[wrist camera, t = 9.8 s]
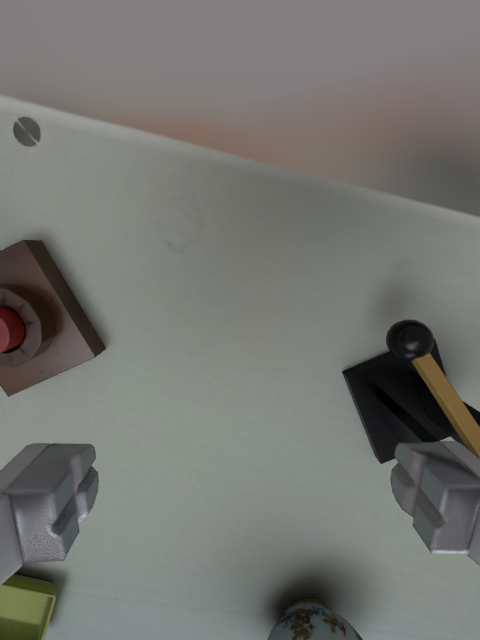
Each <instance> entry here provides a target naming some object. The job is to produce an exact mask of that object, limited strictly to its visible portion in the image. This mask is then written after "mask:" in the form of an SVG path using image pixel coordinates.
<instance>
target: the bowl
mask: <svg viewBox="0 0 480 640" xmlns="http://www.w3.org/2000/svg"><path fill="white" fill-rule="evenodd" d="M268 640H362V638H361V637H360V635H359V634H358V633H357V632H356V630H355V629H354V628H353V627H352V626H351V625H350V624H349V623H348V622H347V621H346V620H345V619H343V618H342V617H341V616H339V615H338V614H336V613H334V612H332V611H330V610H328V608H327V606H326V605H325V604H324V603H323V602H321V601H319V600H315V599H302V600H297V601H295V602H293V603H291V604H290V605H289V606H288V607H287V608H286V609H285V611H284V613H283V615H282V618H281V619H280V620H279V622H278V623H277V624H276V625H275V626H274V628H273V630H272V631H271V633H270V635H269V637H268Z"/></svg>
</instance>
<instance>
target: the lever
mask: <svg viewBox="0 0 480 640" xmlns="http://www.w3.org/2000/svg"><path fill="white" fill-rule="evenodd" d="M386 344H387V347H388V349H389V350H390V352H391V353H392V354H393V355H394V356H396V357H398V358H399V359H402V360H406V361H412V363H413V365H414V366H415V368H416V369H417V371H418V372H419V374H420V375H421V377H422V379H423V380H424V382H425V383H426V385H427V386H428V388H429V390H430V391H431V393H432V394H433V396H434V397H435V399H436V400H437V402H438V404H439V405H440V407H441V408H442V410H443V411H444V413H445V414H446V416H447V418H448V419H449V421H450V422H451V424H452V425H453V427H454V429H455V430H456V432H457V433H458V435H459V436H460V438H461V439H462V441H463V443H464V444H465V446H466V447H467V449H468V450H469V451H470V452H472V453H473V454H474V455H475V456H477V457H478V458H479V459H480V427H479V425H478V424H477V423H476V421H475V420H474V418H473V417H472V415H471V414H470V412H469V411H468V409H467V408H466V406H465V405H464V403H463V402H462V400H461V399H460V397H459V396H458V394H457V393H456V391H455V390H454V388H453V387H452V385H451V384H450V383H449V381H448V380H447V378H446V377H445V375H444V374H443V372H442V371H441V369H440V368H439V366H438V365H437V363H436V362H435V360H434V359H433V357H432V356H431V354H430V352H431V350H432V348H433V345H434V337H433V334H432V332H431V330H430V329H429V328H428V327H427V326H426V325H425V324H423V323H421V322H419V321H416V320H402V321H399V322H397V323H395V324H394V325H393V326H391V328H390V329H389V330H388V332H387V335H386Z"/></svg>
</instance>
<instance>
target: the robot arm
mask: <svg viewBox="0 0 480 640" xmlns="http://www.w3.org/2000/svg"><path fill="white" fill-rule="evenodd" d="M394 456H395V458H396V459H397V461H398V463H397V465H396V466H395V467H394V468H393V469H392V472H391V480H390V481H391V486H392V492H393V494H394V496H395V499H396V501H397V502H398V504H399V506H400V507H401V509H402V510H404V511H405V512H406V513H408V514H409V515H411V516H412V517H413V527H414V528H415V530H416V531H417V533H418V534H419V536H420V537H421V539H422V540H423V542H424V543H425V545H426V546H427V548H428V549H429V551H430V552H431V553H468V556H469V557H470V558H471V559H472V560H474V561H475V562H476V563H477V564H479V565H480V459H479V458H478V457H477V456H475V455H474V454H473V453H472V452H470V451H469V450H468V449H467V448H466V447H464V446H463V445H462V444H461V443H458V442H456V441H436V442H408V443H398V445H397V446H396V449H395V454H394ZM95 459H96V454H95V448H94V446H93V445H91V444H58V443H53V444H49V443H33V444H30V445H27V446H26V447H25V448H24V449H23V450H22V451H21V452H20V453H18V454H17V455H16V456H15V457H14V458H13V459H12V460H11V461H10V462H9V463H8V464H7V465H6V466H5V467H4V468H3V469H2V470H1V471H0V585H2V584H3V583H4V582H5V581H6V580H7V579H8V578H9V577H11V576H12V575H13V574H14V573H15V572H16V571H17V570H18V569H20V568H21V567H22V566H23V563H31V562H50V561H64V559H65V557H66V555H67V553H68V552H69V550H70V548H71V546H72V544H73V542H74V540H75V539H76V537H77V535H78V533H79V525H78V522H79V521H80V520H82V519H83V518H84V517H85V516H87V515H88V514H89V512H90V510H91V509H92V507H93V505H94V502H95V499H96V495H97V492H98V483H99V479H98V472H97V471H96V470H95V469H94V468H93V467H92V466H91V465H92V464H93V462H94V460H95Z"/></svg>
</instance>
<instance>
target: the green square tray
mask: <svg viewBox="0 0 480 640" xmlns="http://www.w3.org/2000/svg"><path fill="white" fill-rule="evenodd" d="M55 600H56V590H55V587H54V585H53V583H52V582H49V581H44V580H40V579H35V578H31V577H26V576H22V575H17V574H13V575H12V576H11V577H9V578H8V579H7V580H6V581H5V582H4V583H3V584H2V585H0V640H44V637H45V634H46V630H47V627H48V624H49V621H50V617H51V614H52V610H53V607H54V604H55Z"/></svg>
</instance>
